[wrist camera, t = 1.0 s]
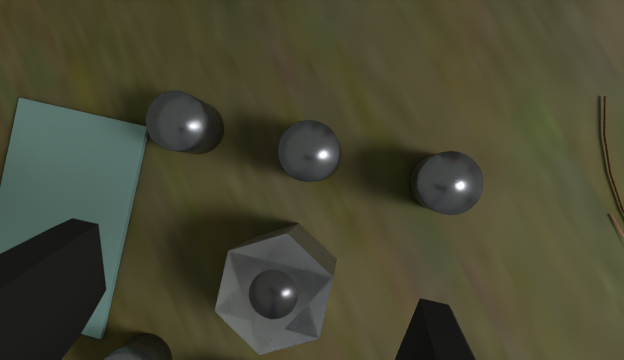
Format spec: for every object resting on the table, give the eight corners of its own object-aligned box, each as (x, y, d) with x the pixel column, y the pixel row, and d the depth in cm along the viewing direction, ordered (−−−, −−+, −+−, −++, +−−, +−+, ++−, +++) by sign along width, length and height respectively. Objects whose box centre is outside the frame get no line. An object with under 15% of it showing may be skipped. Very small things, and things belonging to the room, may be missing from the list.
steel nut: (319, 334, 22) (312, 369, 18) (234, 311, 22) (207, 341, 18) (342, 233, 22) (340, 246, 18) (256, 212, 22) (234, 220, 18)
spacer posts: (400, 456, 21) (407, 502, 18) (117, 376, 23) (82, 407, 20) (470, 161, 21) (489, 159, 18) (179, 97, 22) (152, 84, 19)
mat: (103, 336, 23) (100, 339, 22) (-20, 303, 23) (-25, 304, 23) (149, 127, 22) (146, 126, 22) (23, 98, 23) (19, 97, 23)
